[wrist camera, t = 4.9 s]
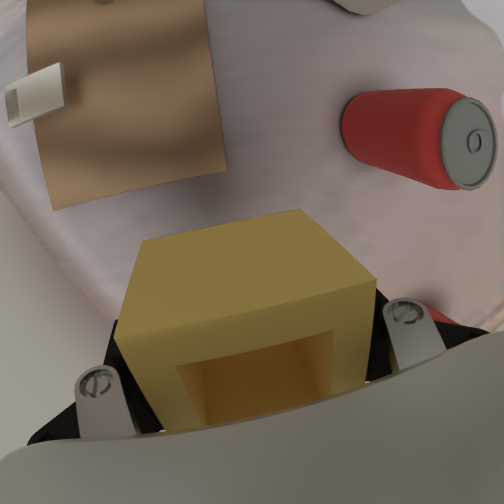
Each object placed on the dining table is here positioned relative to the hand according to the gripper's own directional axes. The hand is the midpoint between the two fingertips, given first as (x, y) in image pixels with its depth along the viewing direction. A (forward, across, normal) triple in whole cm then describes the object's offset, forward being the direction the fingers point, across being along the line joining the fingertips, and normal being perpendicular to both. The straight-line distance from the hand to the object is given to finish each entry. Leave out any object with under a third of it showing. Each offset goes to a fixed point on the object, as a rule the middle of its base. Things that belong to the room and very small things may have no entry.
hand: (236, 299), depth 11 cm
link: (0, 0, +5) cm, 6 cm away
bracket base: (+15, +5, -13) cm, 21 cm away
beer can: (+15, -15, -4) cm, 22 cm away
